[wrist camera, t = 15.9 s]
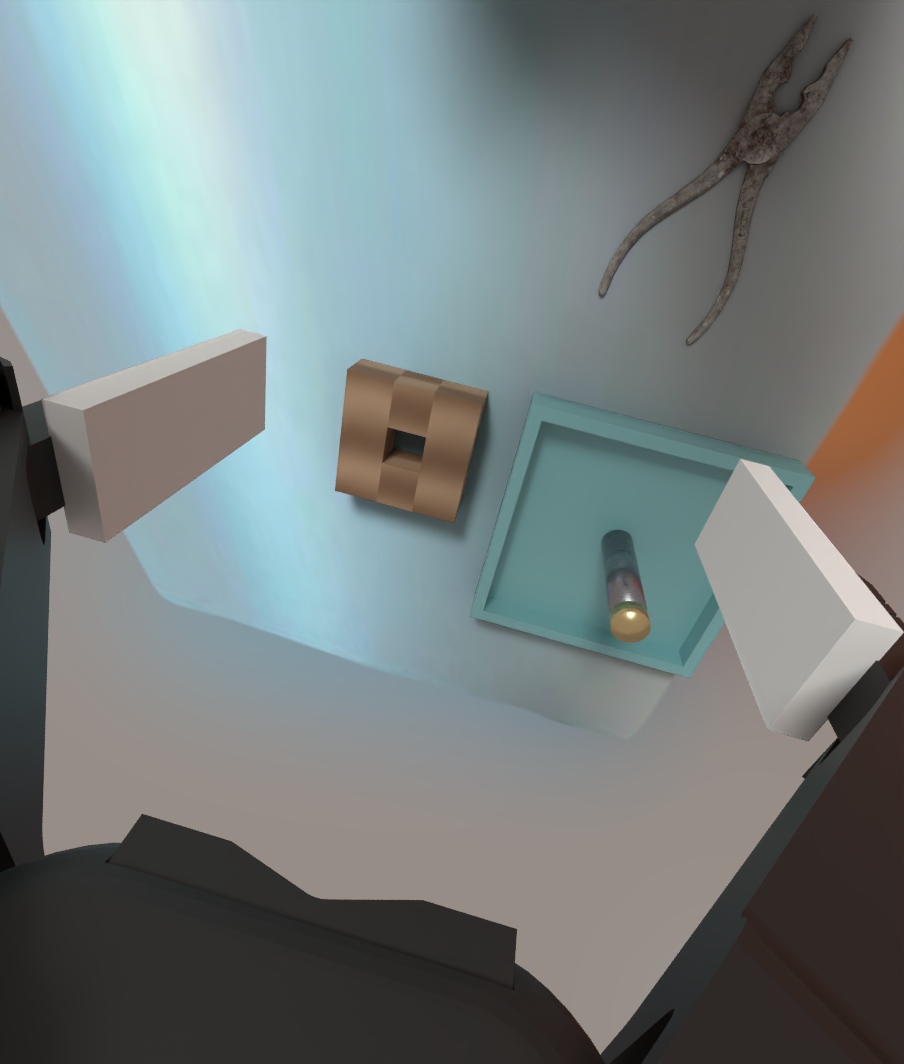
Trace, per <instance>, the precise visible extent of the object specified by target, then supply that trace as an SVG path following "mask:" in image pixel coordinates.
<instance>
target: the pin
mask: <svg viewBox="0 0 904 1064" xmlns="http://www.w3.org/2000/svg"><path fill="white" fill-rule="evenodd" d="M601 546H602V555H603V564H604V573H605V582H606V591H607V600H608V609H609V618H610V628H611V632H612V634H613V636H614V637H615V638H617V639H618V640H620V641H622V642H627V643H634V642H639V641H641V640H643V639H645V638H646V637H647V636H648V635H649V633H650V630H651V625H650V620H649V616H648V611H647V606H646V601H645V596H644V592H643V587H642V582H641V577H640V572H639V568H638V563H637V558H636V553H635V548H634V544H633V539H632V537H631V535H630V534H629V533H627V532H626V531H623V530H612V531H610V532H608V533H606V534H605V535H604V537H603V538H602V541H601Z"/></svg>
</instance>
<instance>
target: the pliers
mask: <svg viewBox="0 0 904 1064" xmlns="http://www.w3.org/2000/svg"><path fill="white" fill-rule="evenodd" d="M816 18H817V16H812V17H811V18H810V19H809V20H808V22H807V23H806V24H805V25H804V26H803V27H802V29H801V30H800V31H799V32H798V33H797V34H796V36H795V37H794V38H793V39H792V40H791V42H790V43H789V44H788V45H787V46H786V47H785V49H784V50H783V51H782V52H781V53H780V54H779V56H778V57H777V58H776V59H775V60H774V61H773V63H772V64H771V65H770V66H769V67H768V68H767V70H766V71H765V72H764V74H763V76H762V79H761V81H760V83H759V85H758V87H757V90H756V92H755V94H754V96H753V98H752V101H751V103H750V105H749V107H748V109H747V112H746V114H745V116H744V118H743V120H742V123H741V125H740V127H739V128H740V129H739V130H738V131H737V133H736V134H735V136H734V137H733V138H732V140H731V141H730V142H729V144H728V145H727V147H726V148H725V149H724V151H723V152H722V154H721V155H720V156H719V157H718V159H717V160H716V161H715V162H714V163H713V164H712V166H710V167H709V168H708V169H707V170H706V171H705V172H704V173H703V174H701V175H700V176H699V177H698V178H696V179H695V180H694V181H693V182H691V183H690V184H689V185H687V186H686V187H685V188H683V189H682V190H681V191H679V192H678V193H676V194H675V195H674V196H672V197H671V198H669V199H668V200H667V201H665V202H664V203H663V204H661V205H660V206H659V207H657V208H656V209H654V210H653V211H652V212H651V213H650V214H648V215H647V216H646V217H645V218H644V219H642V220H641V221H640V222H639V224H638V225H637V226H636V227H635V228H634V229H633V230H632V231H631V232H630V233H629V235H628V236H627V237H626V239H625V240H624V241H623V243H622V244H621V246H620V247H619V249H618V250H617V252H616V254H615V255H614V257H613V258H612V260H611V262H610V264H609V266H608V268H607V270H606V272H605V275H604V277H603V280H602V283H601V286H600V289H599V294H600V296H603V295H604V294H605V293H606V291H607V289H608V286H609V284H610V281H611V279H612V277H613V274H614V272H615V270H616V269H617V267H618V265H619V263H620V261H621V260H622V258H623V257H624V255H625V254H626V253H627V251H628V250H629V248H630V247H631V246H632V245H633V244H634V242H635V241H636V240H637V239H638V238H639V237H640V236H641V235H642V234H643V233H644V232H645V231H646V230H647V229H648V228H650V227H651V226H652V225H654V224H655V223H656V222H658V221H659V220H661V219H662V218H664V217H665V216H667V215H668V214H670V213H671V212H673V211H675V210H676V209H678V208H679V207H681V206H682V205H684V204H686V203H687V202H689V201H691V200H692V199H694V198H696V197H697V196H699V195H700V194H702V193H703V192H705V191H706V190H708V189H709V188H711V187H712V186H713V185H714V184H715V183H717V182H718V181H719V180H720V179H722V178H723V177H724V176H725V175H726V174H727V173H729V172H730V171H731V170H732V169H733V168H734V167H735V166H736V165H737V164H738V163H739V162H741V161H744V162H745V163H747V164H750V165H749V166H748V171H747V173H746V176H745V179H744V182H743V185H742V189H741V193H740V197H739V201H738V204H737V210H736V217H735V226H734V236H733V244H732V251H731V258H730V264H729V269H728V274H727V277H726V280H725V283H724V286H723V289H722V291H721V293H720V295H719V297H718V299H717V301H716V302H715V304H714V306H713V307H712V309H711V311H710V312H709V314H708V315H707V317H706V318H705V319H704V320H703V322H702V323H701V324H700V325H699V326H698V327H697V329H696V330H695V331H694V332H693V333H692V334H691V335H690V336H689V337H688V338H687V341H686V343H687V344H688V345H689V344H692V343H693V342H694V341H696V340H697V339H698V338H699V337H700V336H701V335H702V334H703V333H704V332H705V331H706V330H707V329H708V327H709V326H710V325H711V323H712V322H713V321H714V320H715V318H716V317H717V316H718V314H719V313H720V311H721V310H722V308H723V306H724V305H725V303H726V301H727V300H728V298H729V296H730V294H731V292H732V291H733V288H734V286H735V283H736V281H737V278H738V276H739V272H740V269H741V265H742V262H743V257H744V252H745V247H746V241H747V236H748V231H749V226H750V221H751V216H752V212H753V208H754V204H755V201H756V198H757V195H758V192H759V190H760V188H761V186H762V184H763V182H764V180H765V178H766V177H767V176H768V174H769V172H770V171H771V169H772V167H773V165H774V164H775V162H776V160H777V158H778V157H779V155H780V153H781V152H782V151H783V150H784V149H785V148H786V147H787V146H788V144H789V143H790V142H791V141H792V140H793V139H794V138H795V136H796V135H797V134H798V133H799V132H800V130H801V129H802V128H803V127H804V126H805V124H806V123H807V122H808V121H809V120H810V118H811V117H812V116H813V115H814V114H815V112H816V111H817V110H818V109H819V108H820V106H821V105H822V103H823V101H824V99H825V97H826V95H827V93H828V91H829V89H830V87H831V85H832V82H833V80H834V78H835V76H836V74H837V72H838V70H839V68H840V66H841V64H842V62H843V60H844V58H845V56H846V54H847V52H848V50H849V48H850V46H851V44H852V42H853V40H852V38H849V39H848V40H847V41H846V42H845V43H844V44H843V45H842V46H841V47H840V49H839V50H838V51H837V52H836V53H835V54H834V55H833V57H832V58H831V59H830V60H829V61H828V62H827V63H826V65H825V67H824V68H823V69H824V70H823V73H822V75H820V77H819V79H817V81H815V82H814V83H812V84H810V85H808V86H806V87H805V89H804V90H803V91H802V92H801V96H802V103H801V105H800V107H799V109H798V110H797V111H796V112H794V113H789V112H784V113H783V114H782V115H781V116H778V115H776V114H775V113H774V111H775V109H776V107H777V106H776V105H775V104H774V102H773V101H772V96H773V91H774V90H775V89H776V87H777V86H778V85H780V84H784V83H787V82H788V80H789V78H790V76H791V69H792V68H791V67H792V66H791V65H792V62H793V59H794V57H796V55H797V53H799V52H800V51H801V49H802V48H803V47H804V45H805V43H806V40H807V38H808V36H809V34H810V32H811V29H812V27H813V25H814V23H815V20H816ZM760 114H761V115H760ZM766 161H767V162H766ZM763 162H764V163H763ZM760 163H761V164H760ZM752 164H759V165H752Z"/></svg>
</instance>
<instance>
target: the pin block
mask: <svg viewBox="0 0 904 1064" xmlns="http://www.w3.org/2000/svg"><path fill="white" fill-rule="evenodd" d="M487 395H488V391H484V390H480V389H476V388H472V387H469V386H465V385H461V384H457V383H453V382H449V381H446V380H442V379H438V378H434V377H430V376H426V375H423V374H419V373H415V372H411V371H407V370H403V369H400V368H396V367H392V366H388V365H384V364H380V363H377V362H373V361H369V360H365V359H361V360H360V361H358V362H357V363H355V364H354V365H353V366H351V367H350V368H348V369H347V378H346V388H345V398H344V408H343V417H342V427H341V437H340V447H339V457H338V467H337V476H336V486H335V491H338V492H342V493H346V494H349V495H353V496H357V497H360V498H364V499H368V500H371V501H375V502H379V503H382V504H386V505H390V506H393V507H397V508H401V509H404V510H408V511H411V512H415V513H419V514H422V515H426V516H430V517H433V518H437V519H441V520H444V521H448V522H452V523H454V521H455V518H456V516H457V513H458V510H459V507H460V505H461V501H462V497H463V493H464V488H465V484H466V480H467V476H468V472H469V468H470V464H471V460H472V456H473V452H474V448H475V444H476V440H477V436H478V431H479V427H480V423H481V419H482V415H483V411H484V407H485V403H486V399H487ZM396 430H400V431H404V432H407V433H411V434H415V435H419V436H422V437H426V441H425V446H424V451H423V455H420V454H416V453H412V452H408V451H405V450H401V449H397V448H394V443H395V436H396Z"/></svg>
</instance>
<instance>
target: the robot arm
mask: <svg viewBox="0 0 904 1064" xmlns="http://www.w3.org/2000/svg"><path fill="white" fill-rule="evenodd" d="M265 387H266V336H264V335H260V334H256V333H252V332H248V331H245V330H241V329H239V330H237V331H234V332H231V333H228V334H225V335H222V336H220V337H217V338H214V339H211V340H208V341H205V342H202V343H200V344H197V345H194V346H191V347H188V348H185V349H182V350H180V351H177V352H174V353H171V354H168V355H165V356H162V357H160V358H157V359H154V360H151V361H148V362H145V363H142V364H140V365H137V366H134V367H131V368H128V369H125V370H122V371H120V372H117V373H114V374H111V375H108V376H105V377H102V378H100V379H97V380H94V381H91V382H88V383H85V384H82V385H80V386H77V387H74V388H71V389H68V390H65V391H63V392H60V393H57V394H54V395H51V396H48V397H45V398H43V399H41V400H40V401H38V402H34V403H32V404H29V405H26V406H23V407H22V405H21V400H20V396H19V392H18V387H17V383H16V379H15V374H14V370H13V366H12V364H11V362H10V361H8V360H6V359H4V358H2V357H0V1064H904V623H903V622H902V620H901V619H900V618H898V617H896V613H895V612H894V611H893V610H892V608H891V607H890V606H889V605H888V604H885V600H884V599H883V597H882V596H881V595H880V594H879V593H878V591H877V590H876V589H875V588H874V587H873V586H872V585H871V584H870V583H869V582H868V581H866V580H865V579H863V578H862V577H861V576H860V575H858V574H857V573H856V572H855V571H854V570H853V569H852V568H851V567H850V565H849V564H848V563H847V562H846V560H845V559H844V558H843V557H842V555H841V554H840V553H839V552H838V550H837V549H836V548H835V547H834V545H833V544H832V543H831V542H830V541H829V539H828V538H827V537H826V536H825V534H824V533H823V532H822V531H821V529H820V528H819V527H818V526H817V525H816V523H815V522H814V521H813V520H812V518H811V517H810V516H809V515H808V513H807V512H806V511H805V510H804V508H802V506H801V505H800V504H799V502H798V501H797V500H796V499H795V497H794V496H793V495H792V494H791V492H790V491H789V490H788V489H787V488H786V486H785V485H784V484H783V483H782V481H781V480H780V479H779V478H778V476H777V475H776V474H775V473H774V472H773V470H772V469H771V468H770V467H769V466H766V465H763V464H759V463H755V462H751V461H747V460H743V459H740V460H739V462H738V464H737V466H736V468H735V470H734V471H733V473H732V475H731V477H730V479H729V481H728V483H727V485H726V486H725V488H724V490H723V492H722V494H721V496H720V498H719V500H718V501H717V503H716V505H715V507H714V509H713V511H712V513H711V515H710V516H709V518H708V520H707V522H706V524H705V526H704V528H703V530H702V531H701V533H700V535H699V537H698V539H697V541H696V543H695V547H696V549H697V552H698V554H699V557H700V560H701V562H702V565H703V567H704V570H705V572H706V575H707V577H708V580H709V582H710V585H711V588H712V590H713V593H714V595H715V598H716V600H717V603H718V605H719V608H720V611H721V613H722V616H723V618H724V621H725V623H726V626H727V628H728V631H729V634H730V636H731V639H732V641H733V643H734V646H735V649H736V651H737V654H738V656H739V659H740V662H741V664H742V667H743V669H744V672H745V674H746V677H747V679H748V682H749V684H750V687H751V690H752V692H753V694H754V697H755V700H756V702H757V705H758V708H759V710H760V713H761V715H762V718H763V720H764V723H765V725H766V728H767V730H770V731H773V732H777V733H781V734H784V735H787V736H791V737H794V738H798V739H802V740H805V741H809V740H810V739H811V738H812V737H813V736H814V734H815V733H816V732H817V731H818V730H819V729H820V728H821V726H822V725H823V724H824V723H825V722H826V721H827V720H829V721H830V723H831V725H832V727H833V729H834V731H835V733H836V735H837V737H838V738H837V739H836V740H835V741H834V742H833V743H832V744H831V745H830V746H829V748H828V749H827V750H826V751H825V752H824V753H823V754H822V755H821V756H820V758H818V760H817V761H816V762H815V763H814V764H813V765H812V766H811V767H810V768H809V769H808V770H807V772H806V773H805V774H804V775H803V776H802V777H803V778H805V780H804V781H803V782H802V784H801V785H800V787H799V788H798V789H797V791H796V792H795V793H794V795H793V796H792V798H791V799H790V800H789V802H788V803H787V804H786V806H785V807H784V809H783V810H782V811H781V813H780V814H779V815H778V817H777V818H776V820H775V821H774V822H773V824H772V825H771V827H770V828H769V829H768V831H767V832H766V833H765V835H764V836H763V837H762V839H761V840H760V842H759V843H758V844H757V846H756V847H755V848H754V850H753V851H752V853H751V854H750V855H749V857H748V858H747V859H746V861H745V862H744V864H743V865H742V866H741V868H740V869H739V871H738V872H737V873H736V875H735V876H734V878H733V879H732V880H731V882H730V883H729V884H728V886H727V887H726V888H725V890H724V891H723V893H722V894H721V895H720V897H719V898H718V900H717V901H716V902H715V904H714V905H713V907H712V908H711V909H710V910H709V912H708V913H707V915H706V916H705V917H704V919H703V920H702V922H701V923H700V924H699V926H698V927H697V928H696V930H695V931H694V932H693V934H692V935H691V937H690V938H689V939H688V941H687V942H686V943H685V945H684V946H683V948H682V949H681V950H680V952H679V953H678V954H677V956H676V957H675V959H674V960H673V961H672V963H671V964H670V966H669V967H668V968H667V970H666V971H665V972H664V974H663V975H662V977H661V978H660V979H659V981H658V982H657V983H656V985H655V986H654V988H653V989H652V990H651V992H650V993H649V994H648V996H647V997H646V999H645V1000H644V1001H643V1003H642V1004H641V1006H640V1007H639V1008H638V1010H637V1011H636V1012H635V1014H634V1015H633V1016H632V1018H631V1019H630V1020H629V1021H628V1023H627V1024H626V1025H625V1026H624V1028H623V1029H622V1030H621V1031H620V1032H619V1034H618V1035H617V1036H616V1037H615V1038H614V1039H613V1041H612V1042H611V1043H610V1044H609V1045H608V1046H607V1048H606V1049H605V1050H604V1051H603V1052H602V1054H601V1055H600V1054H599V1052H598V1050H597V1049H596V1047H595V1046H594V1044H593V1043H592V1041H591V1039H590V1038H589V1037H588V1035H587V1034H586V1033H585V1032H584V1030H583V1029H582V1027H581V1026H580V1025H579V1023H578V1022H577V1021H576V1020H575V1018H574V1017H573V1015H572V1014H571V1013H570V1012H569V1011H568V1010H567V1008H566V1007H565V1006H564V1005H563V1004H562V1003H561V1002H560V1001H559V1000H558V999H557V998H556V997H555V996H554V995H553V994H552V992H551V991H550V990H549V989H547V988H546V987H545V986H544V985H543V984H542V983H541V982H539V981H538V980H537V979H536V978H535V977H534V976H532V975H531V974H530V973H529V972H528V971H526V970H525V969H523V968H522V967H520V966H519V965H517V964H516V963H515V950H516V934H517V929H515V928H511V927H508V926H505V925H502V924H498V923H495V922H492V921H488V920H485V919H482V918H479V917H476V916H472V915H469V914H466V913H463V912H459V911H456V910H453V909H449V908H446V907H443V906H440V905H436V904H433V903H430V902H427V901H424V900H327V899H319V898H315V897H313V896H311V895H309V894H307V893H306V892H304V891H303V890H301V889H300V888H298V887H297V886H296V885H294V884H292V883H291V882H290V881H288V880H287V879H285V878H284V877H282V876H281V875H279V874H278V873H276V872H275V871H274V870H272V869H271V868H269V867H268V866H266V865H265V864H263V863H262V862H261V861H259V860H258V859H256V858H255V857H253V856H252V855H251V854H249V853H248V852H246V851H245V850H243V849H242V848H240V847H239V846H237V845H236V844H235V843H233V842H231V841H229V840H225V839H222V838H219V837H216V836H212V835H209V834H206V833H203V832H199V831H196V830H193V829H190V828H186V827H183V826H180V825H177V824H173V823H170V822H166V821H163V820H160V819H157V818H154V817H151V816H147V815H144V814H142V815H141V817H140V818H139V819H138V820H137V822H136V823H135V825H134V826H133V828H132V829H131V830H130V832H129V833H128V835H127V836H126V837H125V839H124V840H123V842H122V843H108V844H97V845H88V846H83V847H78V848H74V849H69V850H65V851H60V852H55V853H53V854H49V855H46V856H45V855H44V849H43V837H42V816H43V815H42V814H43V783H44V749H45V716H46V683H47V651H48V650H47V649H48V616H49V615H48V614H49V582H50V551H51V530H50V526H49V521H48V517H47V516H48V515H50V514H51V513H53V512H55V511H57V510H58V509H60V508H62V507H63V506H64V510H65V515H66V520H67V524H68V529H69V533H73V534H76V535H80V536H84V537H87V538H90V539H94V540H97V541H101V542H105V543H106V542H107V541H108V540H110V539H111V538H112V537H114V536H116V535H117V534H118V533H120V532H121V531H123V530H124V529H125V528H127V527H128V526H130V525H131V524H132V523H134V522H135V521H137V520H138V519H139V518H141V517H142V516H144V515H145V514H146V513H148V512H149V511H151V510H152V509H154V508H155V507H156V506H158V505H159V504H161V503H162V502H163V501H165V500H166V499H168V498H169V497H170V496H172V495H173V494H175V493H176V492H177V491H179V490H180V489H182V488H183V487H184V486H186V485H187V484H189V483H190V482H191V481H193V480H194V479H196V478H197V477H198V476H200V475H201V474H203V473H204V472H206V471H207V470H208V469H210V468H211V467H213V466H214V465H215V464H217V463H218V462H220V461H221V460H222V459H224V458H225V457H227V456H228V455H229V454H231V453H232V452H234V451H235V450H236V449H238V448H239V447H241V446H242V445H243V444H245V443H246V442H248V441H249V440H250V439H252V438H253V437H255V436H256V435H258V434H259V433H260V432H262V431H263V430H265Z"/></svg>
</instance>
